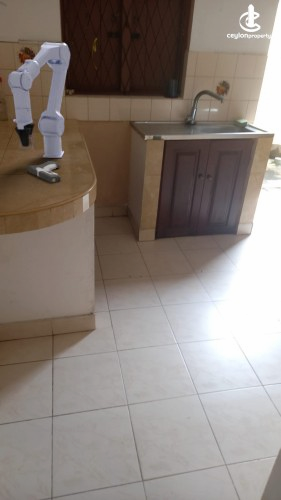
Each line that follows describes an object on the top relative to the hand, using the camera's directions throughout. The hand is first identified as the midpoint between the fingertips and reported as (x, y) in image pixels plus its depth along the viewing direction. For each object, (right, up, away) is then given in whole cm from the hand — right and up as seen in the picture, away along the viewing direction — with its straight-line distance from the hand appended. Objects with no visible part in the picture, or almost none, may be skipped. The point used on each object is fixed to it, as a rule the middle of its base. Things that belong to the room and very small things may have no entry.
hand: (27, 144), depth 138 cm
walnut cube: (0, -2, +1) cm, 2 cm away
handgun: (+11, -13, -3) cm, 17 cm away
